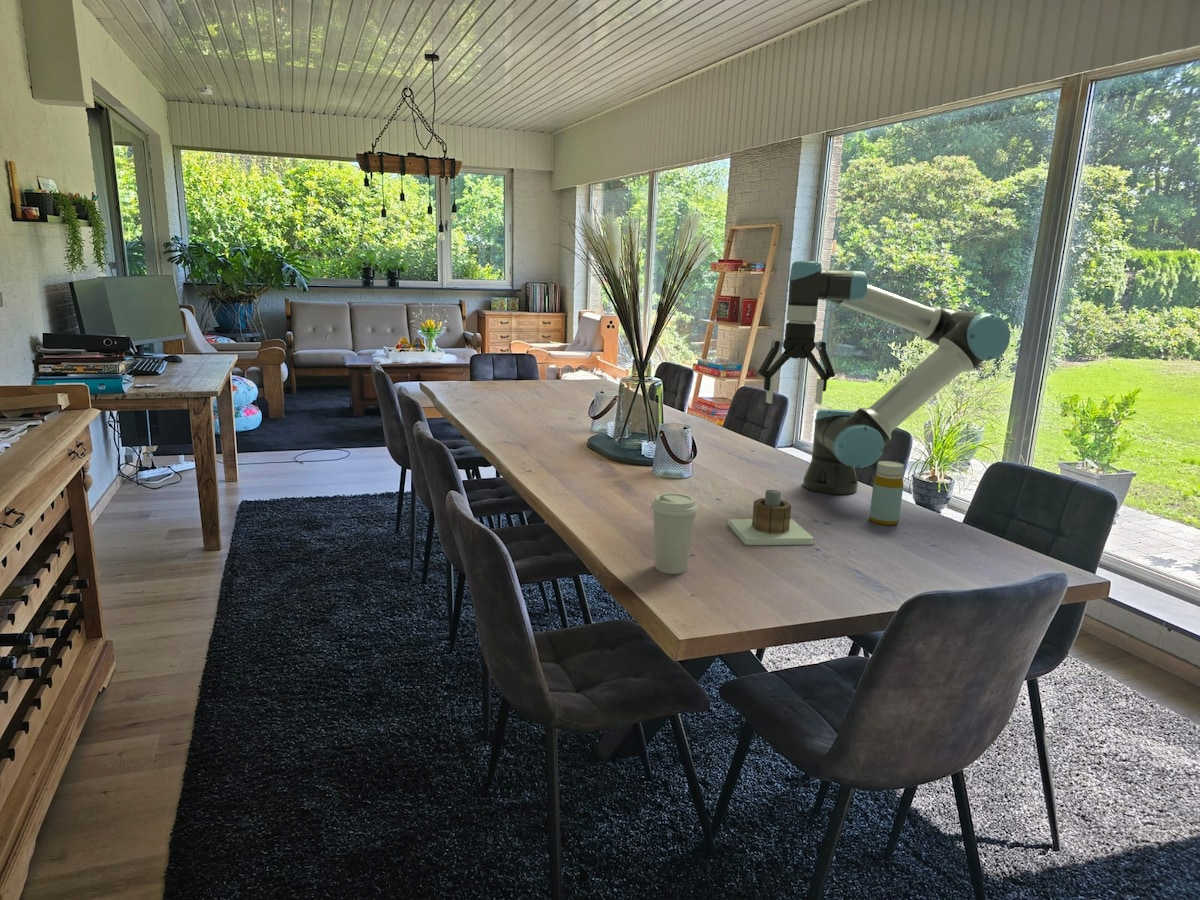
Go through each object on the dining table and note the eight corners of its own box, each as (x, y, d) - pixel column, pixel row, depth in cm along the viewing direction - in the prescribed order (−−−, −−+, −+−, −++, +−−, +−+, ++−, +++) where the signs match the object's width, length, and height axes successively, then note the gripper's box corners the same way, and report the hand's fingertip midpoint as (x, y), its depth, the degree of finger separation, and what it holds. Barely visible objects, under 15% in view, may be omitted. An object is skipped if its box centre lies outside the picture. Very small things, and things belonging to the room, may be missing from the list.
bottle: (897, 519, 196) (905, 462, 193) (898, 527, 190) (906, 468, 187) (869, 515, 199) (875, 459, 195) (869, 523, 192) (875, 465, 189)
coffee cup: (644, 559, 163) (648, 491, 159) (689, 559, 164) (693, 491, 160) (651, 577, 154) (655, 505, 150) (698, 577, 154) (703, 505, 151)
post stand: (791, 524, 189) (795, 483, 187) (813, 544, 176) (818, 500, 173) (728, 525, 187) (731, 483, 185) (745, 545, 174) (749, 500, 171)
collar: (780, 522, 185) (783, 498, 184) (792, 533, 178) (795, 508, 176) (748, 522, 184) (750, 498, 183) (759, 533, 177) (761, 508, 175)
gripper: (840, 322, 205) (832, 401, 209) (749, 320, 201) (743, 400, 206) (853, 324, 197) (844, 406, 202) (759, 322, 194) (752, 405, 199)
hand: (793, 403), depth 204 cm, fingers open, 13 cm apart
